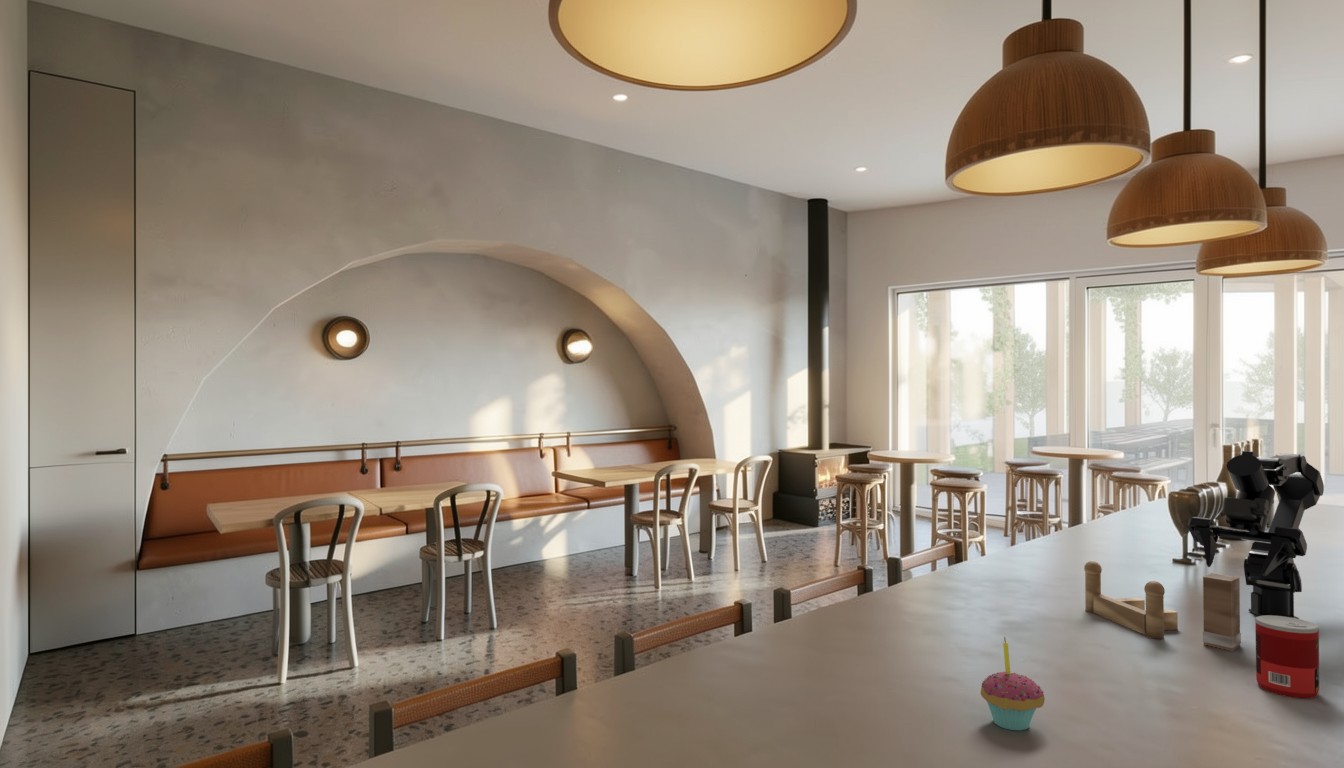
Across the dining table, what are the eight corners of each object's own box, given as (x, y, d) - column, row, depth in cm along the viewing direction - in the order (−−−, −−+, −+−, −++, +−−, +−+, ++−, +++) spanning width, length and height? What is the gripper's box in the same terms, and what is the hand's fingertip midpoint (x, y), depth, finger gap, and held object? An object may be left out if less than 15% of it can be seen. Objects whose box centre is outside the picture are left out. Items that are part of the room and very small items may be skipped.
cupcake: (970, 712, 115) (969, 632, 115) (1024, 710, 116) (1023, 631, 116) (999, 738, 107) (998, 652, 107) (1057, 735, 107) (1056, 650, 108)
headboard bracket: (1120, 607, 171) (1120, 558, 171) (1198, 637, 150) (1197, 582, 150) (1081, 608, 170) (1080, 559, 170) (1153, 639, 149) (1153, 583, 149)
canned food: (1330, 701, 119) (1330, 630, 119) (1272, 697, 121) (1271, 627, 121) (1301, 683, 127) (1300, 616, 127) (1246, 679, 128) (1245, 613, 128)
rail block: (1211, 640, 149) (1211, 573, 149) (1240, 646, 145) (1240, 577, 145) (1203, 644, 146) (1202, 576, 146) (1232, 651, 142) (1231, 581, 142)
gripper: (1189, 478, 161) (1169, 538, 154) (1301, 486, 146) (1284, 553, 140) (1204, 511, 166) (1185, 570, 159) (1314, 522, 151) (1298, 588, 144)
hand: (1235, 570), depth 150 cm, fingers open, 9 cm apart
